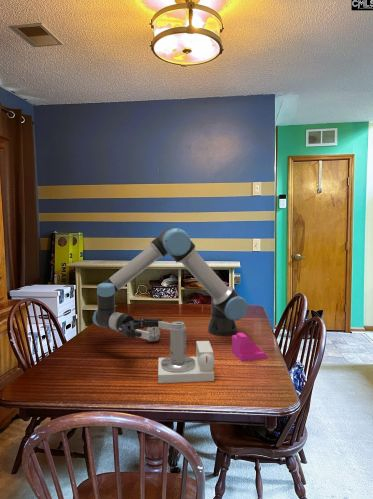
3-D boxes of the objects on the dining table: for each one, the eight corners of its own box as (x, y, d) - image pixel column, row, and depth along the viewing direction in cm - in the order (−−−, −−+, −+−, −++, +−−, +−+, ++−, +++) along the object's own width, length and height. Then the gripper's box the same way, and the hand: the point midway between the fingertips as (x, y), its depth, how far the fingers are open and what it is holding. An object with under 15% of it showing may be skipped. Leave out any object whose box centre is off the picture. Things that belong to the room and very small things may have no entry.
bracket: (241, 361, 144) (241, 337, 143) (231, 352, 154) (232, 329, 153) (267, 358, 147) (268, 334, 146) (257, 349, 157) (257, 327, 156)
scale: (209, 363, 142) (209, 339, 141) (215, 380, 126) (215, 353, 125) (158, 365, 141) (158, 340, 140) (158, 383, 125) (157, 355, 124)
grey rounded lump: (155, 350, 167) (158, 338, 161) (139, 343, 168) (141, 330, 162) (163, 336, 174) (166, 324, 168) (147, 329, 175) (150, 317, 169)
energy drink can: (170, 358, 136) (170, 321, 135) (186, 359, 136) (186, 321, 135) (169, 365, 130) (169, 325, 129) (185, 365, 130) (185, 325, 129)
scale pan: (193, 358, 140) (193, 355, 140) (197, 371, 127) (197, 368, 127) (161, 359, 139) (161, 356, 139) (161, 373, 126) (161, 369, 126)
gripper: (142, 324, 160) (179, 332, 148) (99, 339, 140) (138, 350, 127) (142, 308, 159) (179, 314, 147) (98, 320, 139) (138, 330, 127)
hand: (160, 331), depth 137 cm, fingers open, 13 cm apart
